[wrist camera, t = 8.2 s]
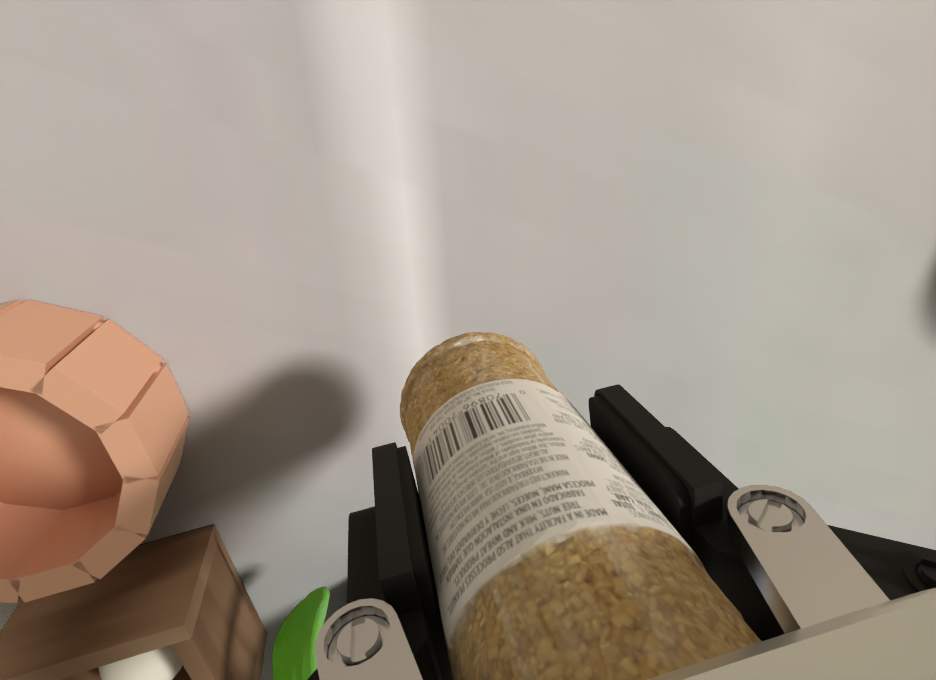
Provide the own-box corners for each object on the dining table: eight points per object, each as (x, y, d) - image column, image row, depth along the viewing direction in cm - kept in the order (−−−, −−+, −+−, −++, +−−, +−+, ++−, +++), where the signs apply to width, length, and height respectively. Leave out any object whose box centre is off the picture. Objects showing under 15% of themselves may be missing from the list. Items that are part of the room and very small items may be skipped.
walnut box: (213, 524, 23) (183, 625, 18) (266, 632, 25) (251, 742, 21) (38, 573, 22) (-40, 693, 17) (114, 680, 24) (64, 806, 20)
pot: (127, 276, 18) (75, 315, 15) (221, 481, 22) (198, 552, 18) (-169, 339, 17) (-305, 399, 13) (-15, 545, 21) (-89, 635, 17)
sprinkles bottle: (424, 480, 17) (620, 1450, 4) (377, 354, 15) (484, 1392, 3) (558, 432, 17) (1093, 1202, 5) (529, 304, 15) (1263, 1001, 3)
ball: (181, 580, 23) (159, 647, 20) (208, 629, 24) (191, 699, 21) (102, 603, 22) (67, 675, 19) (135, 652, 23) (106, 727, 21)
